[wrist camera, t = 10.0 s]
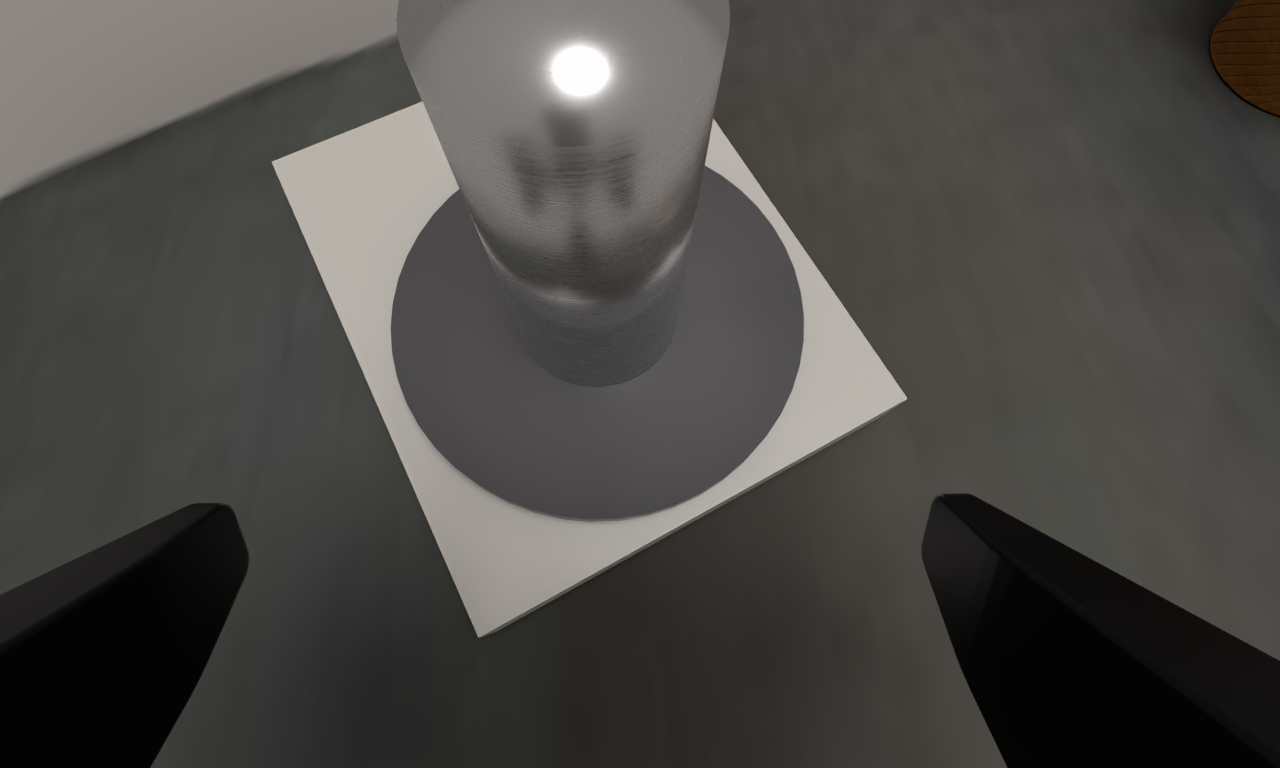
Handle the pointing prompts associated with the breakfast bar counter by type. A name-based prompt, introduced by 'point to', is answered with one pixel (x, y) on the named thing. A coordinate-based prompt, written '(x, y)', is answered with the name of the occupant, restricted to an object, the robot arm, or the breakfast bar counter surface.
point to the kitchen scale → (558, 410)
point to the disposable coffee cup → (1250, 51)
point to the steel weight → (576, 159)
